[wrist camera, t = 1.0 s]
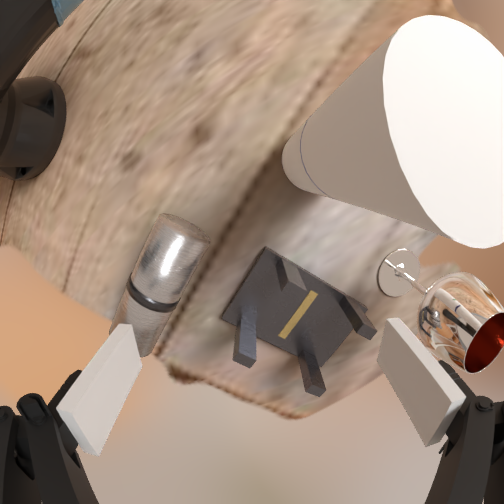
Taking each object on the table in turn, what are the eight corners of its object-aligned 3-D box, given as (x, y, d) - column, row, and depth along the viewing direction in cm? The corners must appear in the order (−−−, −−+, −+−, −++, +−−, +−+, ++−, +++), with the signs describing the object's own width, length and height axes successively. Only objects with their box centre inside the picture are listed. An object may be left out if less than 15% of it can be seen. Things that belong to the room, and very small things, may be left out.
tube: (159, 338, 35) (145, 366, 29) (120, 315, 34) (100, 338, 28) (215, 237, 32) (206, 251, 26) (168, 209, 31) (149, 217, 25)
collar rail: (222, 314, 34) (214, 351, 26) (265, 246, 32) (269, 269, 24) (319, 362, 36) (332, 401, 28) (365, 305, 34) (389, 337, 26)
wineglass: (359, 275, 33) (437, 360, 15) (403, 227, 31) (507, 275, 14) (393, 313, 34) (466, 397, 17) (433, 269, 32) (523, 330, 15)
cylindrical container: (269, 171, 30) (331, 146, 6) (301, 117, 28) (422, -19, 4) (325, 204, 31) (496, 287, 6) (355, 151, 29) (549, 125, 5)
